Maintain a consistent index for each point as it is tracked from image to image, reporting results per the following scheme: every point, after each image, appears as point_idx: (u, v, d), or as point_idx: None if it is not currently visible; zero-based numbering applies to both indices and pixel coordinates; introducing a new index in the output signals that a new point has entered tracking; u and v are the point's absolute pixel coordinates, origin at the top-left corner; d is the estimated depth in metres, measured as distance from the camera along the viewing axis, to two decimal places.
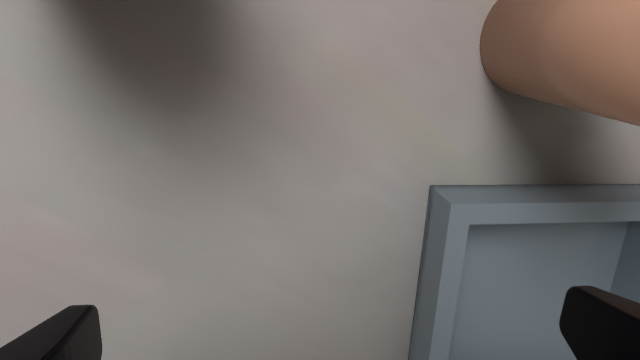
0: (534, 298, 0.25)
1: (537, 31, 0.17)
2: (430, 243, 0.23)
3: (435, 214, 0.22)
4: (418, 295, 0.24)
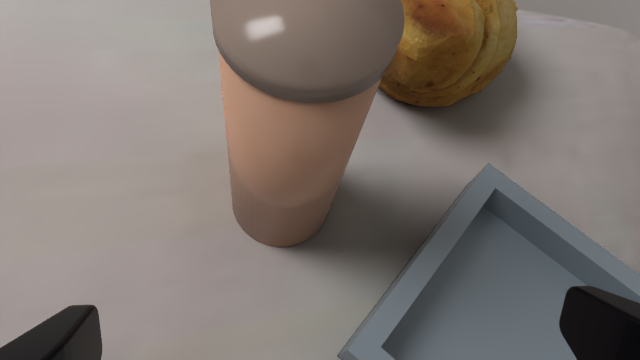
0: (523, 335, 0.22)
1: (242, 196, 0.19)
2: None
3: None
4: None
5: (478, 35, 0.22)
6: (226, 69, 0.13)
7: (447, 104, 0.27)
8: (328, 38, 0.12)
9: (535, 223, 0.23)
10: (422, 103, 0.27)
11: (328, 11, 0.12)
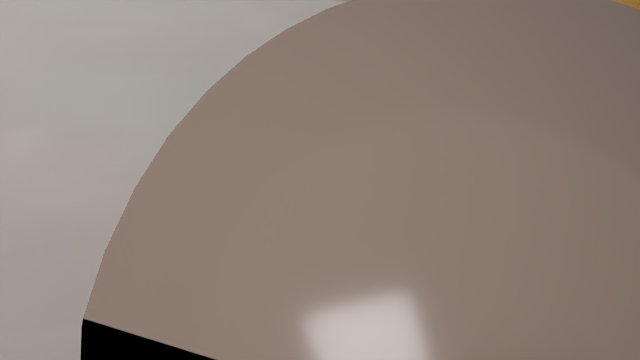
0: None
1: None
2: None
3: None
4: None
5: None
6: None
7: None
8: None
9: None
10: None
11: None
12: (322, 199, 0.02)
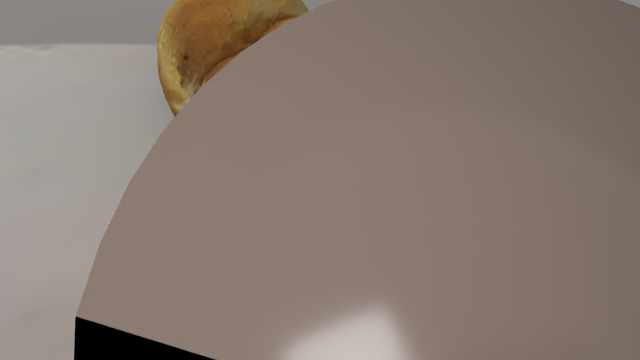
0: None
1: None
2: None
3: None
4: None
5: None
6: None
7: None
8: None
9: None
10: None
11: None
12: (316, 193, 0.02)
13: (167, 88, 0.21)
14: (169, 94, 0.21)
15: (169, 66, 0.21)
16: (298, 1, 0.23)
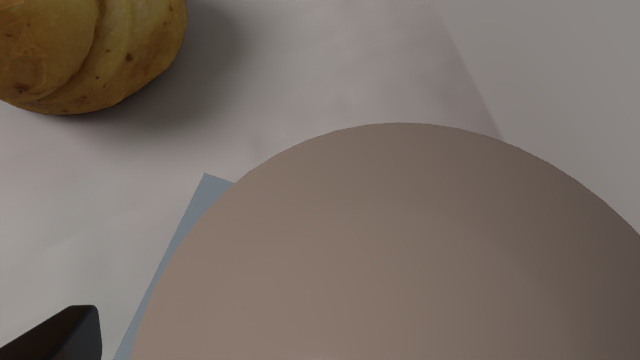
0: None
1: None
2: None
3: None
4: None
5: None
6: None
7: (112, 102, 0.19)
8: None
9: None
10: (74, 110, 0.19)
11: None
12: (266, 291, 0.04)
13: None
14: None
15: None
16: None
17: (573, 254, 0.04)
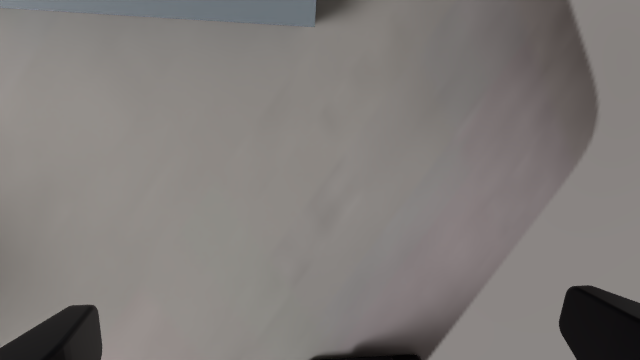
0: None
1: None
2: None
3: None
4: None
5: None
6: None
7: None
8: None
9: None
10: None
11: None
12: None
13: None
14: None
15: None
16: None
17: None
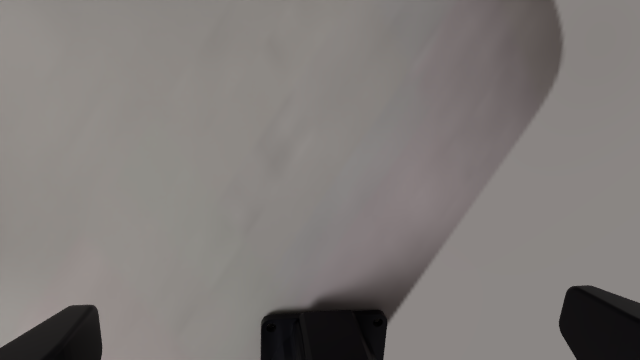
0: None
1: None
2: None
3: None
4: None
5: None
6: None
7: None
8: None
9: None
10: None
11: None
12: None
13: None
14: None
15: None
16: None
17: None
